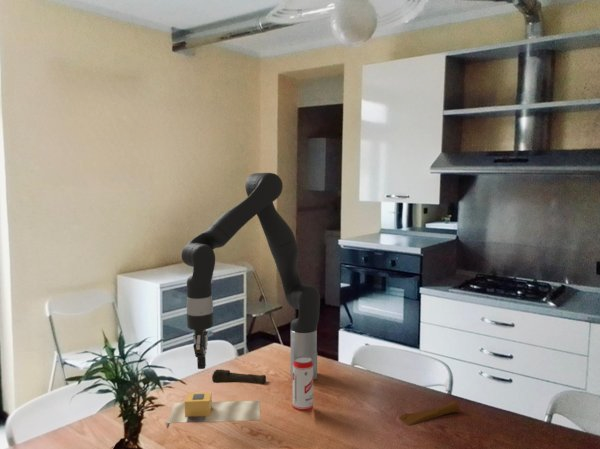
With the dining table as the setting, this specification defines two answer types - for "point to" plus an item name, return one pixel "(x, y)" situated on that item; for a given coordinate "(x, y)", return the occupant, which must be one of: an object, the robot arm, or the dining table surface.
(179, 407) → the board
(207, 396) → the yellow block
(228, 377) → the black flashlight
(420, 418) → the primitive tool
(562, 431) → the dining table surface
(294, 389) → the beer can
